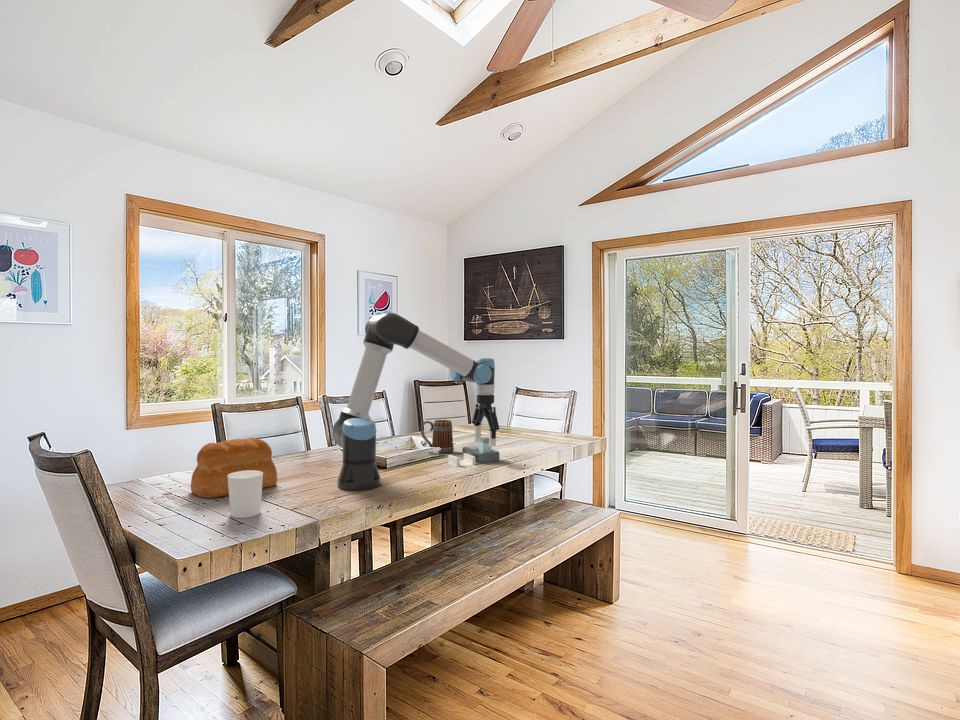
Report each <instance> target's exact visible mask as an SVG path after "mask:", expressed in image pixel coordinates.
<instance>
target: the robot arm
mask: <svg viewBox="0 0 960 720" xmlns="http://www.w3.org/2000/svg"><path fill="white" fill-rule="evenodd" d="M364 332H365V336H364V338H363V342H362V344H363V345H364V352H363V355H362V358H361V361H360V365H359V367H358V370H357V373H356V377H355V380H354V383H353V387H352V390H351V392H350V396H349V399H348V402H347V405H346V407H345V408H343V409H342V410H341V411H340V414H339V416H338V417H339V418H338V419H337V420H336V421H335V422H334V424H333V427H332V432H331V433H332V437H333V441H334V442H335V443H336V445H337V446H339V447H340V448H342V464H341V469H340V472H339V475H338V478H337V487H338V488H339V489H340V490H341V489H342V490H347V491H365V490H370V489H375V488H378V487H379V486H381V481H382V480H381V475H380V473H379V469H378V467H377V466H378V465H377V463H376V459H377V449H376V447H377V426H376V425H377V424H376V422H375V421H374V420H372V418H371V416H370V415H369V414H370V410H371V407H372V404H373V400H374V397H375V394H376V390H377V387H378V383H379V382H380V378H381V374H382V372H383V368H384V365H385V362H386V358H387V356H388V354H390V353H392V352H393V350H394V346H395V345H396V346H400V347H402V348H404V349H405V350H409V349H411V350H413V351H415V352H417V353H419V354H420V355H422V356H424V357H427V358H429V359H430V360H432V361H434V362H436V363H437V364H440V365H441V366H444V367H445V368H447V369H450V370H449V374H450V378H451V380H452V381H454V382H468V383H469V382H470V383H475V384H476V393H477V395H476V404H475V408H474V413H473V417H472V421H471V423H472V424H473V426H474V441H475V442H480V437H482V422H483V419H484V417H485V418H486V421H487V424H488V426H489V436H488V437H489V446H491V447H496V446H497V431H498V430H500V426H499V421H498V420H499V419H498V416H497V412H496V406H492V404H495V395H494V394H495V373H496V372H495V370H496V367H495V364H496V363H495V359H494V358H491V357H490V358H488V357H479V358H477V361H476V360H474V359H472V358H470V357H469V356H467V355H465V354H463V353H462V352H459V351H457V350H456V349H454V348H452V347H451V346H449V345H447V344H445V343H443V342H441V341H439V340H438V339H436V338H435V337H432V336H431V335H429V334H427V333H425V332H423V331H421V330H420V326H418V325H417V324H415V323H413V322H411V321H409V320H408V319H406V318H405V317H403V316H401V315H399V314H397V313H394V312H385V313H384V312H383V313H381V312H380V313H376V314H374V315H373V316H371V317H369V319H368V320H367V322H366V324H365V327H364Z"/></svg>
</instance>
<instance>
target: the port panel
mask: <svg viewBox="0 0 960 720" xmlns="http://www.w3.org/2000/svg"><path fill="white" fill-rule="evenodd" d="M461 451H462V453H461V456H462V458H464V453H467V454H469V455H472V456H474V457H475V464H478V465H480V464H488V463H489V464H490V463H499V462H500V452H499V450H496V449H495V450H494V449H493V448H491V452H490V453H480V452H479V445H475V446H474V445H472V446H464V447H462V450H461Z"/></svg>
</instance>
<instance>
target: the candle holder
mask: <svg viewBox="0 0 960 720" xmlns="http://www.w3.org/2000/svg"><path fill="white" fill-rule="evenodd" d="M227 478H228V490H229V495H228V502H229V503H228V504H229V513H230V514H229V516H230V517H231V518H234V519H248V518H252V517H256V516H259V514H261V512H262V511H261V509H262V498H263V497H262V496H263V495H262V494H263V488H262V481H263V472H261V471H256V470H246V471H238V472H233V473H230V474H228V476H227Z"/></svg>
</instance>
